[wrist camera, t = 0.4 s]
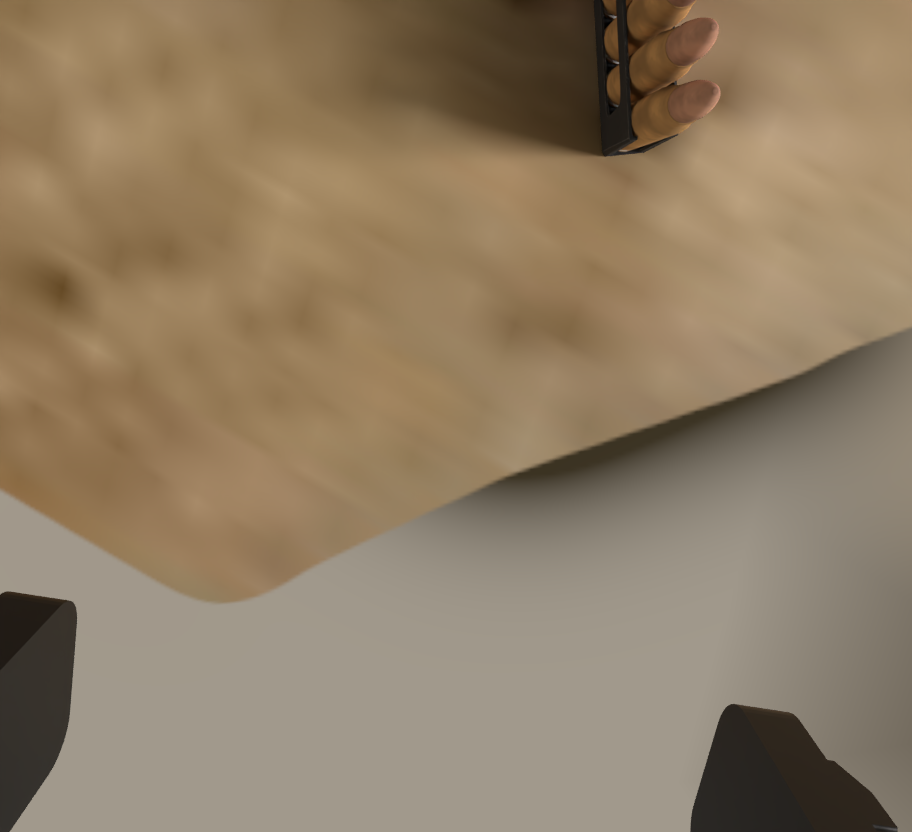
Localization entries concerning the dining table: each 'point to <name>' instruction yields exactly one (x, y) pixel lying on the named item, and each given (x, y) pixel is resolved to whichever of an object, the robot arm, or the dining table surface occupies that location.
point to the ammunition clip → (649, 72)
